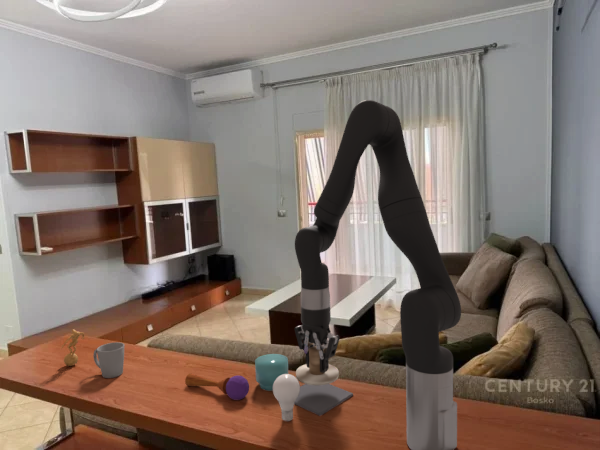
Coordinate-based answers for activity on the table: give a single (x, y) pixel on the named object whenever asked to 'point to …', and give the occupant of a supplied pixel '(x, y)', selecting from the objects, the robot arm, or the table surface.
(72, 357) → the figurine
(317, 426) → the table surface
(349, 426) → the table surface
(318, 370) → the lid
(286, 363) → the teal rounded dome
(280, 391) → the lightbulb
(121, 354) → the cup
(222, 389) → the kendama
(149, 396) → the table surface
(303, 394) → the mat
